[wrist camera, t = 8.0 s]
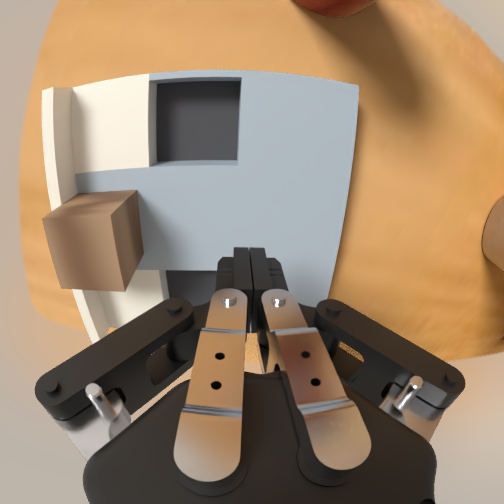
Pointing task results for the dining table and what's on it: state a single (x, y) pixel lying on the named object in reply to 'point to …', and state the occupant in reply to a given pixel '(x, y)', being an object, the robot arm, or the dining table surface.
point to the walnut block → (96, 240)
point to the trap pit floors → (196, 151)
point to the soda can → (335, 6)
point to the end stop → (67, 188)
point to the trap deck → (224, 179)
